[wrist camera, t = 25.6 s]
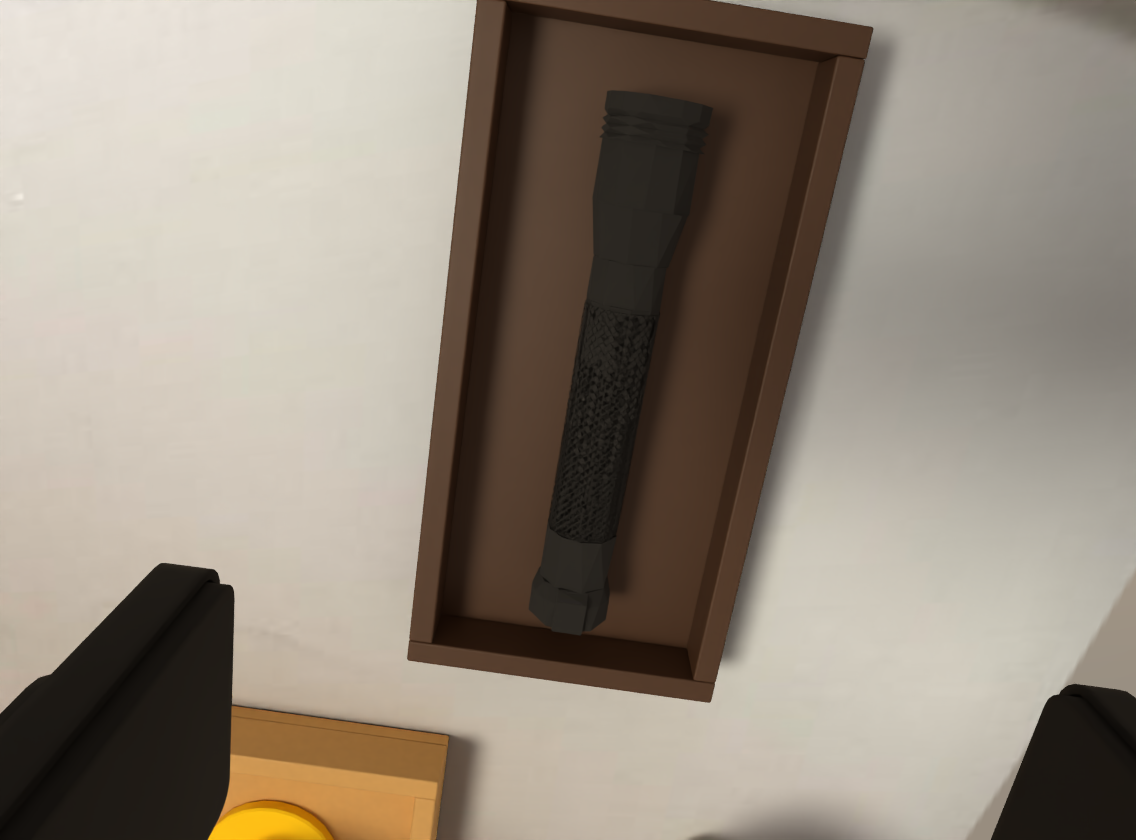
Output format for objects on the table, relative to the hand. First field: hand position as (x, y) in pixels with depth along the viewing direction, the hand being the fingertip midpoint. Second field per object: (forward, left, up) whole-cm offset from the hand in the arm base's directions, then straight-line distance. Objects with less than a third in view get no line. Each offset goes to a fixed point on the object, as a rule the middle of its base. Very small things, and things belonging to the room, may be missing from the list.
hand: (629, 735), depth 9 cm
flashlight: (0, 0, -19) cm, 19 cm away
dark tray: (0, 0, -19) cm, 19 cm away
